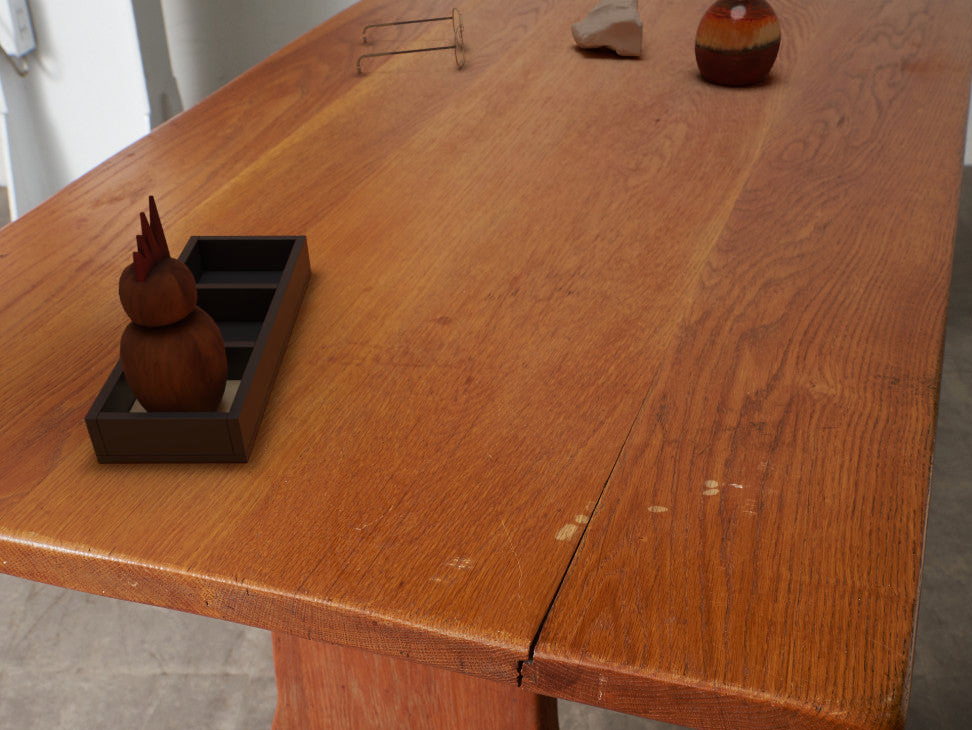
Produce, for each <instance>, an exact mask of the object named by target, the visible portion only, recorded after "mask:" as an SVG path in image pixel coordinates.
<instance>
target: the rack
mask: <svg viewBox="0 0 972 730" xmlns="http://www.w3.org/2000/svg"><path fill="white" fill-rule="evenodd" d="M177 259H178V260H180V261H181V262H183V263H184V264H185V265H186V266H187V267H188V268H189V270H190V271H191V273H192V274H193V276H194V280H195V283H196V289H197V303H196V306H198V307H200V308H201V309H202V310H203V311H205V312H206V313H207V314H208V315H209V316H210V317H211V318H212V319H213V320H214V322H215V323H216V325H217V326H218V328H219V329H220V332H221V335H222V339H223V342H224V347H225V352H226V358H227V364H228V369H227V382H226V387H225V392H224V395H223V398H222V401H221V402H220V403H219V405H218V406H217V407H216V408H215V410H214V411H213V412H147V411H146V410H145V409H144V408H143V407H142V406H141V405H140V403H139V402H138V400H137V399H136V397H135V396H134V394H133V392H132V390H131V388H130V386H129V384H128V382H127V380H126V377H125V374H124V371H123V368H122V364H121V359H120V357H119V358H118V359H117V361H116V363H115V365H114V367H113V369H112V370H111V372H110V373H109V376H108V377H107V379H106V380H105V382H104V384H103V385H102V387H101V389H100V391H99V393H98V394H97V396H96V398H95V399H94V401H93V403H92V404H91V406H90V408H89V409H88V411H87V413H86V414H85V416H84V418H83V420H84V423H85V427H86V429H87V433H88V436H89V438H90V442H91V444H92V448H93V452H94V454H95V456H96V461H97V462H98V464H101V463H102V464H105V463H107V464H108V463H109V464H111V463H113V464H114V463H117V464H118V463H120V464H121V463H123V464H125V463H127V464H129V463H132V464H133V463H135V464H136V463H137V464H138V463H141V464H142V463H151V464H153V463H159V464H160V463H161V464H162V463H247V462H248V461H249V458H250V454H251V452H252V450H253V446H254V443H255V441H256V440H255V439H256V437H257V434H258V431H259V429H260V426H261V422H262V419H263V416H264V414H265V412H266V411H265V410H266V408H267V405H268V403H269V402H268V401H269V399H270V396H271V393H272V390H273V387H274V383H275V381H276V379H277V375H278V373H279V371H280V370H279V369H280V366H281V364H282V360H283V358H284V355H285V352H286V350H287V346H288V343H289V341H290V337H291V334H292V331H293V328H294V325H295V322H296V319H297V316H298V313H299V311H300V308H301V305H302V301H303V299H304V295H305V293H306V290H307V287H308V284H309V281H310V278H311V275H312V268H311V259H310V254H309V245H308V238H307V235H306V234H305V235H303V234H302V235H301V234H299V235H190V236H189V238H188V240H187V242H186V244H185V245H184V247H183V249H182V250H181V252H180V254H179V255H178V257H177Z"/></svg>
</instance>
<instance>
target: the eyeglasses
mask: <svg viewBox="0 0 972 730" xmlns="http://www.w3.org/2000/svg"><path fill="white" fill-rule="evenodd" d="M455 10H456V12H457V14H458V21H459V24H458V26H457V28H456V27H455V19H454V18H455V17H454V13H455ZM447 20H452V29H453V34H454V33H455V34H454V40H453V45H447V46H438V47H427V48H419V49H418V48H417V49H409V50H400V51H399V50H398V51H387V52H378V53H368V54H367V53H366V54H362V55H360V56H359V57H358V58H357V60H356V69H357V73H358V74H362V68H361V64H360V63H361V60H363V59H364V58H366V59H367V58H374V57H384V56H394V55H402V54H412V53H413V54H414V53H422V52H432V51H442V50H450V49H451V50H452V49H454V57H455V63H456V65H457V67H458V68H463V66H464V63H465V49H464V39H463V38H464V37H463V32H464V31H465V26H464V19H463V14H462V13H460V11H459V9H458V8H457V7H454V8H453V9H452V12H451V16H445V17H437V18H436V17H435V18H426V19H416V20H406V21H397V22H396V21H395V22H394V21H393V22H386V23H385V22H384V23H375V24H368V25H366V26H365V27H364V28H363V31H362V35H363V34H366V32H367V30H368V29H370V28H381V27H388V26H389V27H390V26H391V27H392V26H399V25H409V24H417V23H418V24H419V23H428V22H437V21H447ZM457 33H458V34H457ZM457 35H459V36H458V37H459V38H460V40H461V42H460V41H459V39H458V37H457ZM362 41H363V43H367V42H368V39H367V36H366V37H363V36H362ZM457 44H458V45H459V47H461V49H462V51H461V52H462V62H461V65H460V64H459V61H458V55H457ZM463 53H464V54H463ZM357 67H360V68H357Z"/></svg>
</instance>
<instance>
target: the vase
mask: <svg viewBox="0 0 972 730" xmlns="http://www.w3.org/2000/svg"><path fill="white" fill-rule="evenodd" d="M781 31H782V30H781V23H780V19H779V17H778V14H777V13H776V10H775V9H774V7H773V6H772V5H771V3H770V2H769V1H768V0H715V1H714V2H712V4H710V5H709V7H708V8H707V9H706V10H705V12H704V13H703V14H702V16H701V18H700V20H699V22H698V25H697V28H696V32H695V39H694V55H695V62H696V66H697V69H698V70H699V73H700V74H701V75H702V77H703V78H704V79H705V80H707V81H708V82H710V83H713V84H716V85H721V86H729V87H744V86H745V87H746V86H752V85H756V84H758V83H760V82H762V81H763V80H764V79H765V78H766V77H767V76H768V75H769V73H770V72H771V71H772V69H773V67H774V65H775V63H776V60H777V58H778V54H779V51H780V47H781V41H782V32H781Z"/></svg>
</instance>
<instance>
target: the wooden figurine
mask: <svg viewBox="0 0 972 730" xmlns="http://www.w3.org/2000/svg"><path fill="white" fill-rule="evenodd" d="M157 207H158V206H157V204H156V201H155V197H154V195H150V194H149V196H148V211H149V212H148V213H149V220H148V218H147V216H146V212H145V211H140V212H139V220H140V229H141V234H136V236H135V239H136V240H135V241H136V248H137V251H132V262H131V263H130V264H128V265H126V266H125V268H124V269H123V270H122V272H121V274H120V276H119V280H118V297H119V301H120V304H121V306H122V310H123V311H124V313H125V314H126V316H127V318H129V319H130V322H129V323H128V324H127V325H126V327H125V328H124V331H123V332H122V334H121V337H120V343H119V358H120V359H121V364H122V368H123V371H124V374H125V377H126V380H127V382H128V384H129V386H130V388H131V390H132V392H133V394H134V396H135V397H136V399H137V400H138V402H139V403H140V405H141V406H142V407H143V408H144V409H145V410H146V411H147V412H213V411H214V410H215V408H216V407H217V406H218V405H219V403H220V402H221V401H222V398H223V395H224V392H225V387H226V382H227V369H228V364H227V358H226V352H225V347H224V342H223V339H222V335H221V332H220V329H219V328H218V326H217V325H216V323H215V322H214V320H213V319H212V318H211V317H210V316H209V315H208V314H207V313H206V312H205V311H203V310H202V309H201V308H200V307H198V306H196V303H197V289H196V283H195V280H194V276H193V274H192V273H191V271H190V270H189V268H188V267H187V266H186V265H185V264H184V263H183V262H181V261H180V260H178V258H175V257H172V256H171V253H170V250H169V246H168V242H167V238H166V235H165V231H164V228H163V224H162V220H161V218H160V214H159V210H158V208H157Z"/></svg>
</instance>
